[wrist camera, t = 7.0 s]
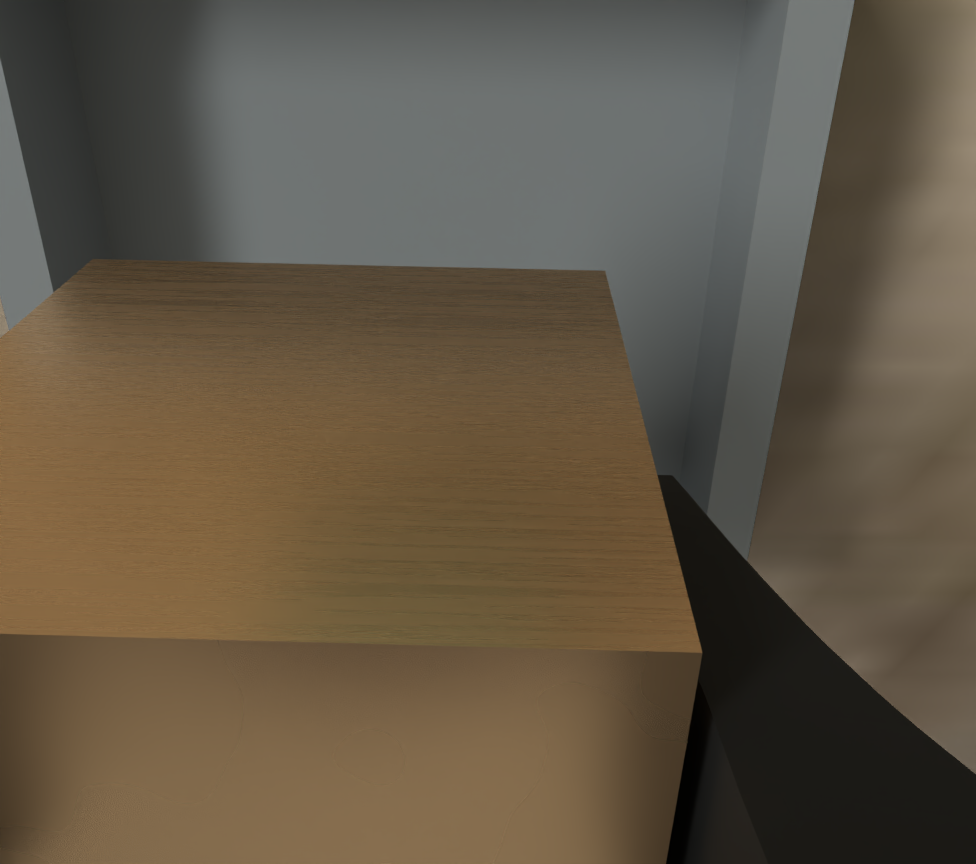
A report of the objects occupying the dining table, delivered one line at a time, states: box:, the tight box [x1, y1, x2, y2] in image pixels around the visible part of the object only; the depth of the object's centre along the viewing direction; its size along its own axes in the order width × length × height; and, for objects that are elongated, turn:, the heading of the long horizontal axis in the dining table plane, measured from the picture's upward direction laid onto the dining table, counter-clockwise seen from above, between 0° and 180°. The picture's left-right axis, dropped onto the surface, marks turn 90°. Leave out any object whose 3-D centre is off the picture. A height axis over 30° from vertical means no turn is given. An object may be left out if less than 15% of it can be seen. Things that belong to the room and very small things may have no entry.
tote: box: [0, 0, 855, 561], centre depth 15 cm, size 12×12×3 cm
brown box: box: [0, 259, 702, 864], centre depth 8 cm, size 5×5×6 cm
